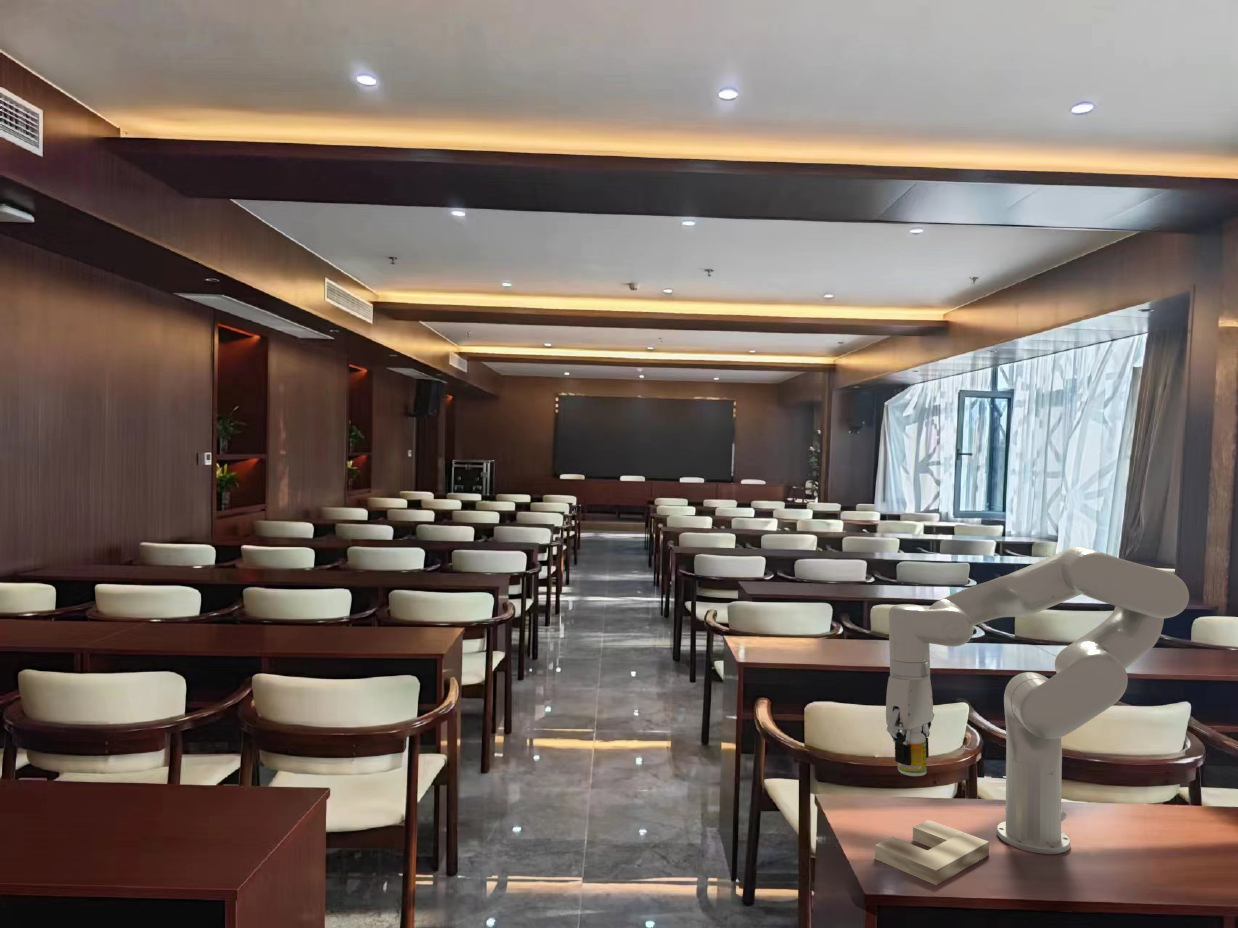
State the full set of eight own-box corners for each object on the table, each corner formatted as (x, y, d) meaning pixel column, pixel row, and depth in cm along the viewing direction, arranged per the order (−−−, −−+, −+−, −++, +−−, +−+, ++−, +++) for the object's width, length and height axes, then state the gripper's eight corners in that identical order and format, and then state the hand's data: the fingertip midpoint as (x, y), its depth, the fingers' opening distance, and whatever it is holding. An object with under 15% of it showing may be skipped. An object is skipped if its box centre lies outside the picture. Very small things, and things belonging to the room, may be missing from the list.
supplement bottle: (928, 777, 160) (927, 727, 160) (899, 776, 161) (898, 726, 161) (924, 767, 166) (923, 719, 166) (896, 766, 167) (895, 718, 167)
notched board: (928, 832, 161) (928, 819, 161) (988, 855, 152) (988, 841, 152) (874, 858, 150) (874, 844, 150) (935, 885, 140) (936, 870, 140)
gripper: (916, 658, 172) (918, 745, 172) (868, 671, 161) (870, 765, 161) (950, 664, 166) (952, 754, 166) (902, 678, 155) (904, 775, 155)
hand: (912, 758), depth 163 cm, fingers closed on supplement bottle, 5 cm apart
